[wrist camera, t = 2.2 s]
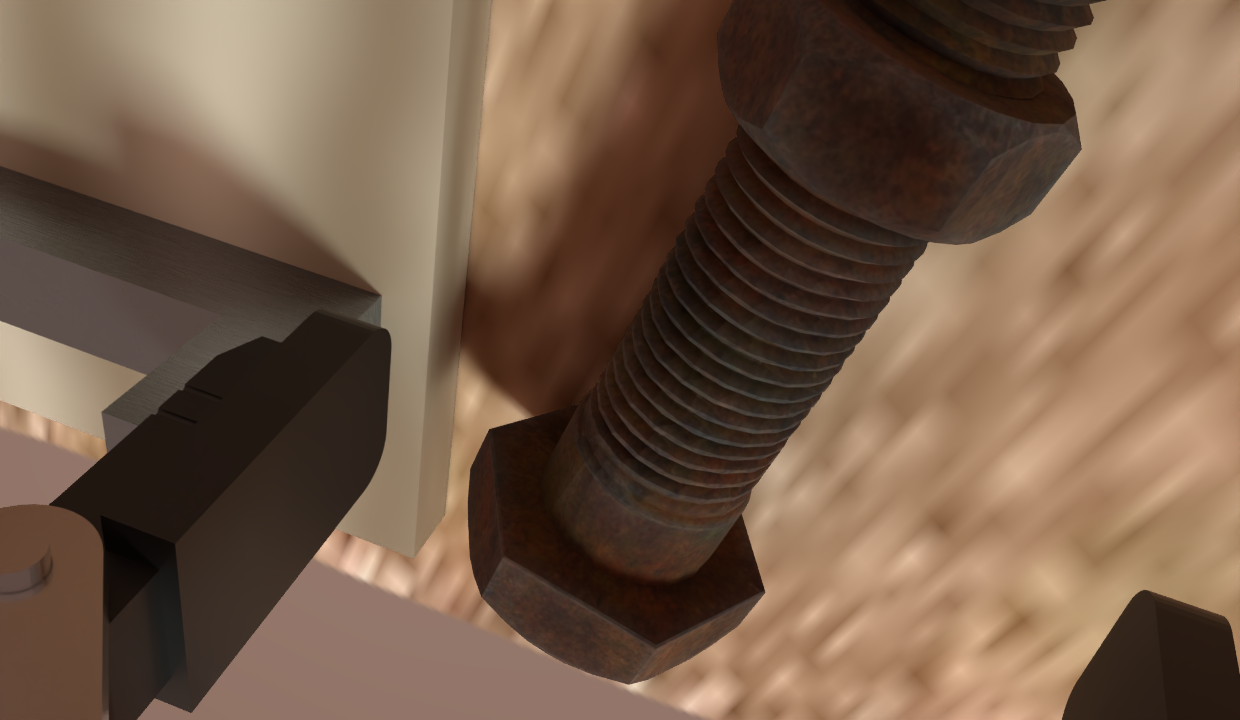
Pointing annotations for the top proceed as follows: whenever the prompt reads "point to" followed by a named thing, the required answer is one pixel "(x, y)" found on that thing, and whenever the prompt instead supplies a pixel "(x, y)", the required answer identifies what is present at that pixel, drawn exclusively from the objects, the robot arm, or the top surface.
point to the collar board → (269, 179)
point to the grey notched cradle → (145, 290)
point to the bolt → (764, 309)
